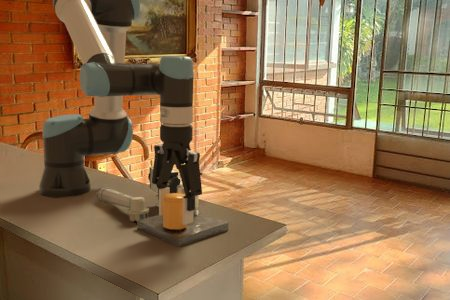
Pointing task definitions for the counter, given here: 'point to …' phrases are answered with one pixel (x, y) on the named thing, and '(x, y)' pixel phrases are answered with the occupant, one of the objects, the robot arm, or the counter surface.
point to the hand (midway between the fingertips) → (175, 218)
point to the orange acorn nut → (173, 211)
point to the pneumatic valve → (173, 183)
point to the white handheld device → (125, 202)
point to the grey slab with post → (191, 233)
